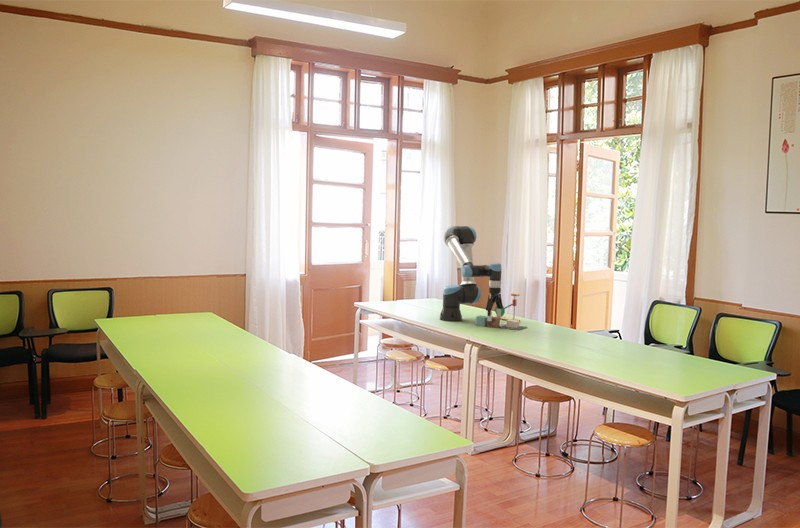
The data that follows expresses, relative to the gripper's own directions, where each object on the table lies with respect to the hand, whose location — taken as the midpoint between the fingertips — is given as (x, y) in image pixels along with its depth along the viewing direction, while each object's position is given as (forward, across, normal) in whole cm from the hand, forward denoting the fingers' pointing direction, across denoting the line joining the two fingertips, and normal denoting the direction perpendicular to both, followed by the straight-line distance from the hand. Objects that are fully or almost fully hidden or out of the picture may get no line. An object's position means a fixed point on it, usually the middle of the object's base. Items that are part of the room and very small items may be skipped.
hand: (494, 319), depth 428 cm
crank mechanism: (+4, +32, +8) cm, 33 cm away
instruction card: (+4, +12, 0) cm, 13 cm away
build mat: (+5, +6, -10) cm, 13 cm away
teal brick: (+5, 0, +8) cm, 10 cm away
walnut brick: (+5, 0, 0) cm, 5 cm away
